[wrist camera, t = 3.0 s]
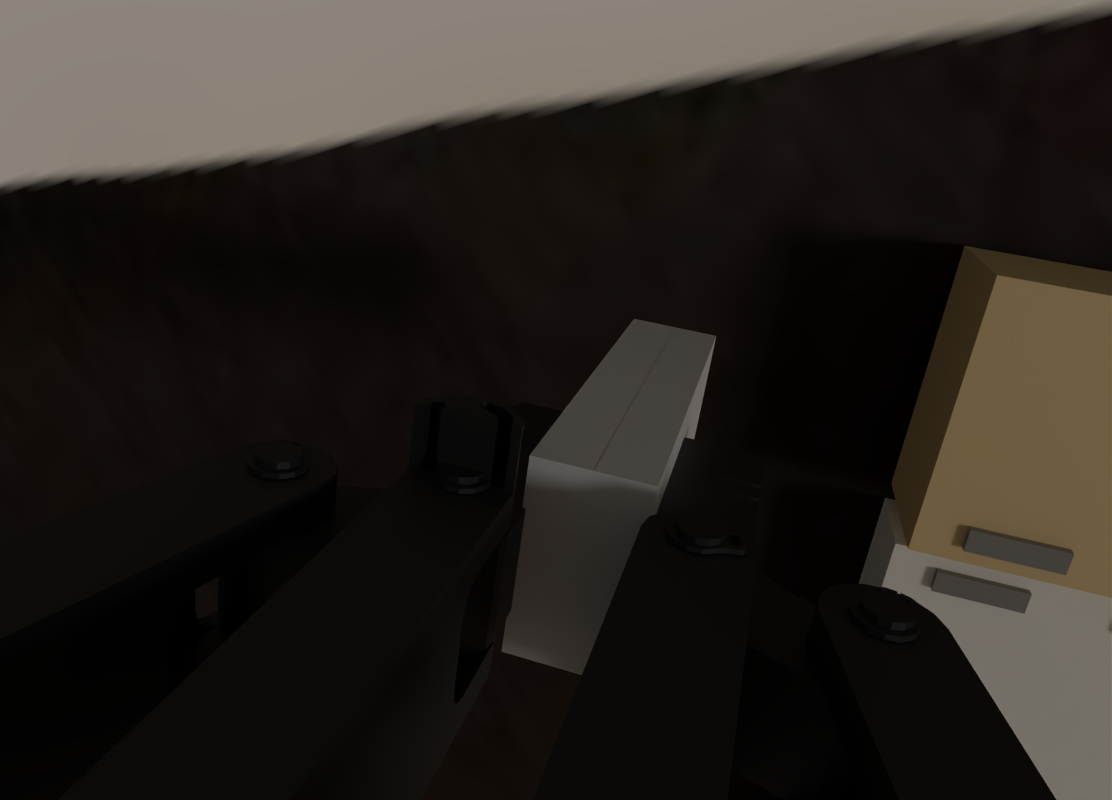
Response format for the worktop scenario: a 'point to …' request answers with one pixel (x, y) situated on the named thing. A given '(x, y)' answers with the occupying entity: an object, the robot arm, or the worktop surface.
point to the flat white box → (1020, 653)
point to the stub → (1016, 425)
